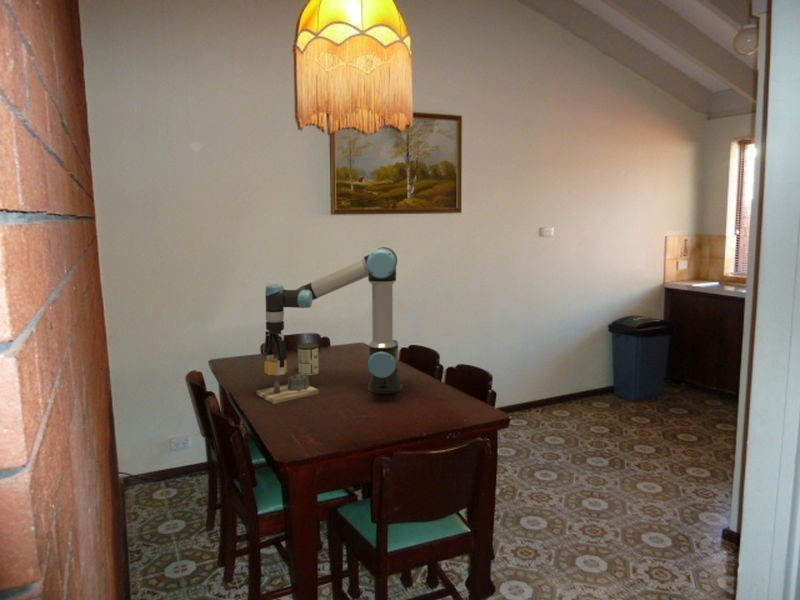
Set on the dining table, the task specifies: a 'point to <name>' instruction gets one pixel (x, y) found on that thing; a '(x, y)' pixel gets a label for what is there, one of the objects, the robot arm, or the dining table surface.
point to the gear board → (288, 389)
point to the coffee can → (308, 359)
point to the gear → (274, 367)
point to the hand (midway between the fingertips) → (275, 371)
